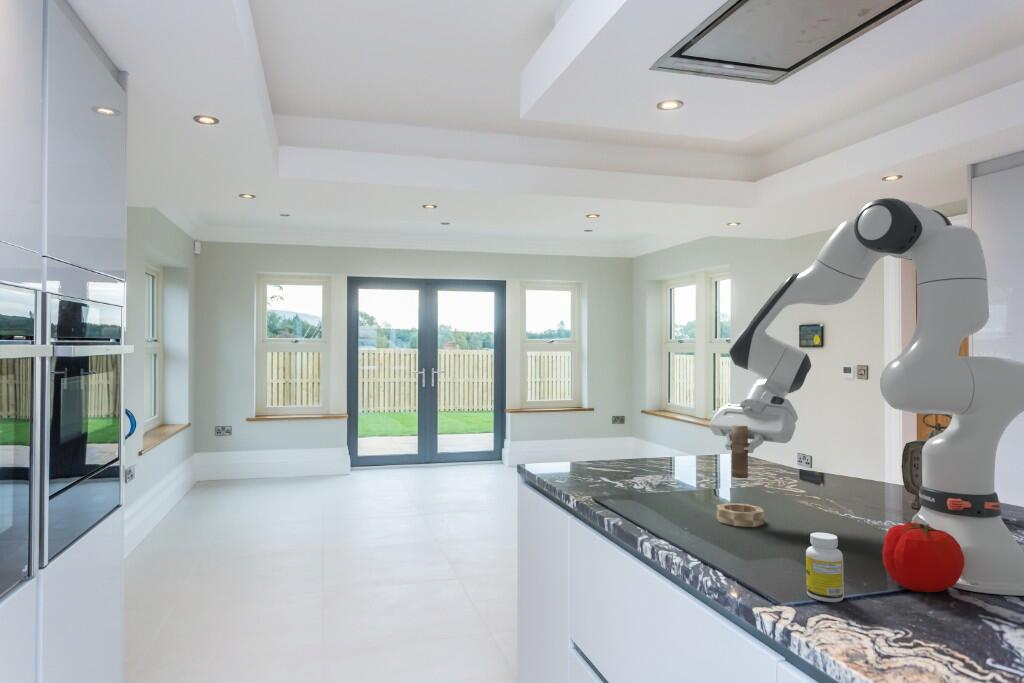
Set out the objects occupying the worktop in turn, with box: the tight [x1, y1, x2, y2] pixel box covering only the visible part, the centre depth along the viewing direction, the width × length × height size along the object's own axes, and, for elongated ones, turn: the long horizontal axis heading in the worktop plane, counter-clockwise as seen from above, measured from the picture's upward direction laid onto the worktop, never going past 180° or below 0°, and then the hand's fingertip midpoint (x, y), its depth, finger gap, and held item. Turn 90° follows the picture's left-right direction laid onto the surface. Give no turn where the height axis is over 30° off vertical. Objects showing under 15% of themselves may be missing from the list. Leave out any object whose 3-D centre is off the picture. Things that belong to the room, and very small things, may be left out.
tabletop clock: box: [901, 414, 952, 508], centre depth 161 cm, size 14×9×25 cm, turn 42°
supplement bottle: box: [805, 532, 845, 603], centre depth 102 cm, size 5×5×10 cm
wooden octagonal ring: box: [716, 502, 765, 528], centre depth 149 cm, size 10×10×3 cm
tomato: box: [881, 517, 964, 593], centre depth 105 cm, size 12×12×11 cm
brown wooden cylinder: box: [731, 425, 749, 479], centre depth 149 cm, size 4×4×12 cm
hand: (738, 450), depth 149 cm, fingers closed on brown wooden cylinder, 4 cm apart
